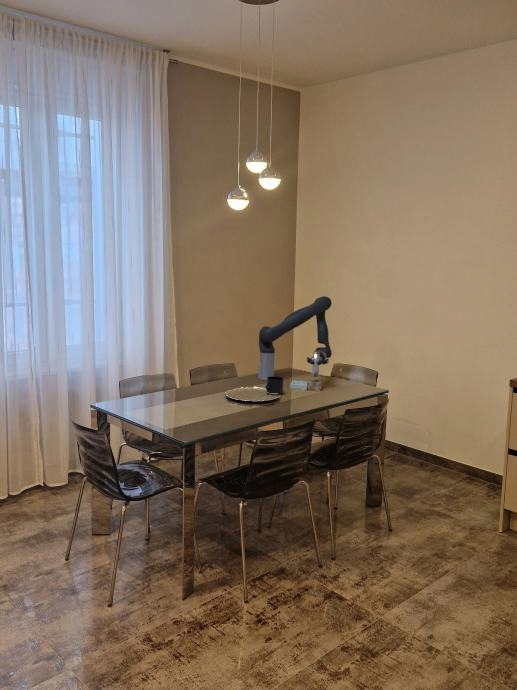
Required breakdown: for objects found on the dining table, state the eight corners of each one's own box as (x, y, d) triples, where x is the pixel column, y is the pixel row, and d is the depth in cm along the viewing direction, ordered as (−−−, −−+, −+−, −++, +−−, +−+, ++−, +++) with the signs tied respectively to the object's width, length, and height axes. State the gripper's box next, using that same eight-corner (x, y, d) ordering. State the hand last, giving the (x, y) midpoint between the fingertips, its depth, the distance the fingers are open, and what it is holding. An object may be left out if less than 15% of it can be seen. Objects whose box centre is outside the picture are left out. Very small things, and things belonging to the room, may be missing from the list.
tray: (289, 388, 372) (290, 384, 371) (293, 384, 381) (293, 380, 381) (306, 390, 369) (306, 385, 369) (309, 386, 379) (309, 382, 378)
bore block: (306, 389, 370) (307, 381, 369) (308, 386, 378) (309, 378, 377) (320, 391, 368) (320, 383, 367) (322, 388, 376) (322, 380, 375)
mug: (259, 393, 358) (260, 378, 356) (274, 390, 366) (275, 375, 365) (271, 397, 351) (272, 381, 350) (286, 393, 360) (286, 378, 358)
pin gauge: (311, 376, 371) (313, 352, 368) (312, 375, 374) (314, 350, 371) (317, 377, 370) (319, 352, 367) (318, 375, 373) (320, 351, 370)
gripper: (308, 350, 385) (303, 356, 368) (331, 352, 382) (327, 358, 365) (307, 362, 386) (303, 368, 370) (330, 364, 383) (327, 370, 367)
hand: (315, 363), depth 368 cm, fingers closed on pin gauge, 3 cm apart
